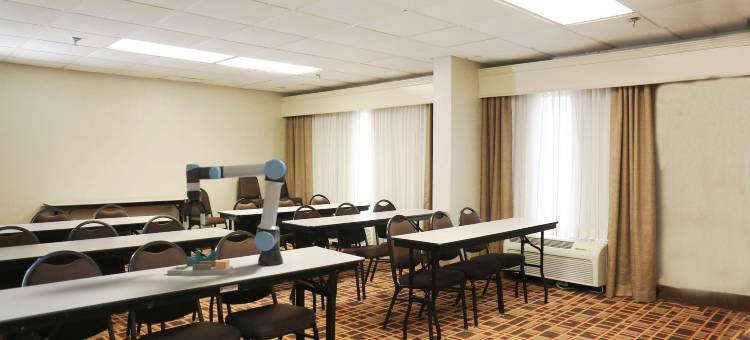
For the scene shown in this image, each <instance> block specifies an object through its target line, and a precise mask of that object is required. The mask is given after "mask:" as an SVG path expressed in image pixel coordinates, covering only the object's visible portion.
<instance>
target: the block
mask: <svg viewBox="0 0 750 340" xmlns="http://www.w3.org/2000/svg"><path fill="white" fill-rule="evenodd" d="M216 261H217V262H215V267H216V269H227V268H229V266H230V259H219V260H216Z"/></svg>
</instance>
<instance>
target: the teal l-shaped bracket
mask: <svg viewBox="0 0 750 340" xmlns="http://www.w3.org/2000/svg"><path fill="white" fill-rule="evenodd" d="M200 261H216V251H215V250H211V251H210V253H209V255H207V256H204V255H203V256H202V255H201V251H200V250H195V254H194V256H187V257H186V266H192V265H200Z"/></svg>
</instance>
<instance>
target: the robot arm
mask: <svg viewBox="0 0 750 340" xmlns="http://www.w3.org/2000/svg"><path fill="white" fill-rule="evenodd" d="M288 173H289V165H288V163H287V162H286V161H285V160H283V159H280V158H273V159H270V160H269V161H265V163H252V164H237V165H221V166H220V165H219V166H214V165H213V166H200V164H199V163H187V164H186V165H185V179H186V190H187V191H186V197H187V198H184V199H183V203H182V207H181V210H180V214H179V216H180V217H182V221H183V228H189V216H188V215H189V212H191V209H192V208H193V207H197V209H198V210H199V212H200V216H199V218H200V225H202V226H205V225H206V214H207V213H208V212H209V211H208V208H207V205H206V202H205V201H204V200H205V199H204V197H201V181H203V180H207V181H209V180H221V179H233V178H234V179H235V178H247V177H248V178H251V177H264V182H265V183H266V187H265V193H264V197H263V200H264V201H263V205H262V211H261V212H262V213H261V220H260V224H258V225H257V227H256V235H255V236H254V239H253V243H254V246H255V248H256V249H258V251H260V253H259V256H258V258H257V259H258V260H257V265H258V266H266V267H267V266H279V265H282V264H283V263H284V259H283V256H282V253H281V250H280V249H281V246H280V242H281V241H280V240H281V239H280V237H281V235H280V227H279V226H276V223H277V216H278V210H279V203H280V197H281V190H282V186H283V185H285V180H286V176H287V174H288Z"/></svg>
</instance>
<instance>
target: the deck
mask: <svg viewBox="0 0 750 340" xmlns="http://www.w3.org/2000/svg"><path fill="white" fill-rule="evenodd" d="M217 261H218V260H215V261H200V265H192V266H187V265H186V266H184V265H183V266H175V267H172V268H170V269H168V270H167V271H166V273H167V276H193V275H194V276H205V275H206V276H212V275H213V276H218V275H219V276H221V275H226V276H227V275H228V274H229V273H231V272H232V271H234V266H233V265H229V268H227V269H216V267H215V262H217Z"/></svg>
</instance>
